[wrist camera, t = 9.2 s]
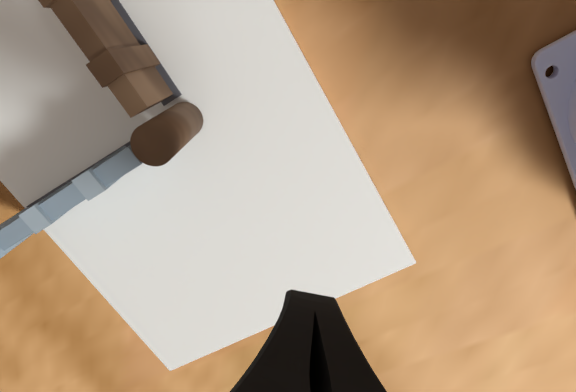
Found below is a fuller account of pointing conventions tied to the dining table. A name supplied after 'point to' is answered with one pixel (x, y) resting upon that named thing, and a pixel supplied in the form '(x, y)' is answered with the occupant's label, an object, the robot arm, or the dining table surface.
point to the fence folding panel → (66, 198)
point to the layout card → (195, 172)
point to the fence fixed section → (129, 77)
